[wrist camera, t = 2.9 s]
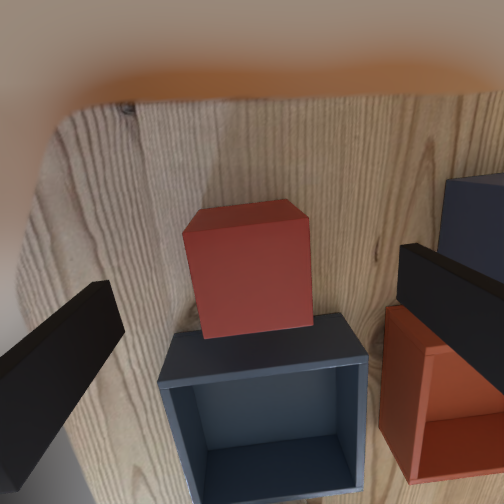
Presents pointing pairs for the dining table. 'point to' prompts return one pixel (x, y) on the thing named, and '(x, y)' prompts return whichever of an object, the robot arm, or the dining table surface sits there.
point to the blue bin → (268, 412)
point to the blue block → (474, 223)
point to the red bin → (436, 406)
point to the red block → (250, 268)
